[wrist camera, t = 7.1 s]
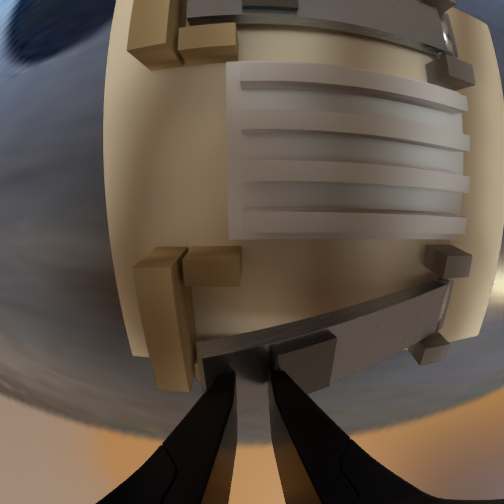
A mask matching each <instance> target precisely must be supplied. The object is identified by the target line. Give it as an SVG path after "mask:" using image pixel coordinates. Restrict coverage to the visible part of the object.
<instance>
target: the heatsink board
mask: <svg viewBox="0 0 504 504" xmlns="http://www.w3.org/2000/svg"><path fill="white" fill-rule="evenodd" d="M416 1H418V2H421V3H423V4H426V5H428V6H431V7H439V8H441V9H443V11H444V12H445V13H447V14H448V15H449V19H450V23H451V26H452V30H453V34H454V38H455V43H456V47H457V52H458V57H456V58H454V57H452V56H449V55H443V56H441V57H439V58H437V56H435V55H433V54H430V53H427V52H424V51H421V50H418V49H415V48H411V47H408V46H405V45H401V44H398V43H394V42H390V41H386V40H382V39H378V38H374V37H370V36H365V35H360V34H355V33H350V32H344V31H338V30H331V29H324V28H316V27H307V26H296V25H281V24H236V22H235V23H219V24H207V25H197V26H190V25H189V23H188V20H187V7H188V0H116V5H115V11H114V16H113V22H112V28H111V34H110V42H109V49H108V58H107V68H106V79H105V94H104V120H103V154H104V180H105V196H106V208H107V219H108V228H109V237H110V244H111V252H112V259H113V265H114V272H115V278H116V283H117V289H118V294H119V299H120V304H121V309H122V314H123V318H124V323H125V327H126V331H127V336H128V340H129V344H130V348H131V351H132V355H133V356H140V357H149V358H150V362H151V366H152V370H153V374H154V378H155V381H156V385H157V389H158V390H165V391H176V392H188V393H190V389H191V385H192V382H193V378H194V374H195V371H196V376H197V381H201V378H200V371H199V365H198V358H197V351H196V342H201V341H207V340H212V339H217V338H222V337H227V336H232V335H237V334H242V333H246V332H251V331H255V330H260V329H264V328H269V327H273V326H277V325H281V324H285V323H290V322H294V321H298V320H301V319H305V318H309V317H313V316H317V315H321V314H324V313H328V312H332V311H335V310H339V309H342V308H346V307H349V306H353V305H356V304H359V303H363V302H366V301H369V300H372V299H376V298H379V297H382V296H385V295H388V294H391V293H394V292H397V291H400V290H403V289H406V288H409V287H412V286H415V285H418V284H421V283H424V282H426V281H429V280H432V279H434V277H435V275H436V274H437V275H438V276H440V277H441V278H442V279H451V278H452V281H454V284H453V288H452V293H451V297H450V301H449V305H448V309H447V313H446V317H445V320H444V324H443V327H442V328H441V329H440V330H439V333H438V334H436V335H429V336H428V337H426V338H424V339H422V340H420V341H419V342H417V343H415V344H413V345H411V346H410V347H408V348H406V349H404V350H409V351H410V353H411V354H412V356H413V357H414V358H415V360H416V361H417V362H418V364H419V365H420V366H421V365H426V364H431V363H435V362H440V361H444V360H445V357H446V355H447V352H448V349H449V346H450V343H449V342H451V341H456V340H461V339H465V338H469V337H474V336H478V334H479V331H480V328H481V325H482V322H483V319H484V315H485V312H486V309H487V305H488V302H489V298H490V294H491V290H492V286H493V282H494V278H495V273H496V268H497V264H498V258H499V253H500V247H501V241H502V234H503V227H504V99H503V92H502V86H501V80H500V74H499V69H498V64H497V59H496V55H495V51H494V47H493V43H492V39H491V36H490V32H489V29H488V25H487V24H485V23H483V22H481V21H480V20H478V19H476V18H474V17H472V16H470V15H468V14H466V13H464V12H462V11H460V10H458V9H456V8H454V7H453V6H455V5H456V1H455V0H416Z"/></svg>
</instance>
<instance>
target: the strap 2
mask: <svg viewBox="0 0 504 504" xmlns="http://www.w3.org/2000/svg"><path fill="white" fill-rule="evenodd" d="M453 284H454V281H452V278H451V279H442V278H441V277H440V276H438V275H437V274H436V275H435V277H434V279H432V280H429V281H426V282H424V283H421V284H418V285H415V286H412V287H409V288H406V289H403V290H400V291H397V292H394V293H391V294H388V295H385V296H382V297H379V298H376V299H372V300H369V301H366V302H363V303H359V304H356V305H353V306H349V307H346V308H342V309H339V310H335V311H332V312H328V313H324V314H321V315H317V316H313V317H309V318H305V319H301V320H298V321H294V322H290V323H285V324H281V325H277V326H273V327H269V328H264V329H260V330H255V331H251V332H246V333H242V334H237V335H232V336H227V337H222V338H217V339H212V340H207V341H201V342H196V351H197V358H198V365H199V371H200V378H201V384H202V391H203V394H204V393H205V391H206V390H207V389H208V388H209V386H210V385H211V384H212V383H213V381H214V380H215V379H216V377H217V376H218V375H219V374H222V373H228V372H235V373H236V388H237V414H239V413H243V412H247V411H250V410H254V409H257V408H261V407H264V406H267V405H269V396H268V389H269V372H270V371H272V370H284V371H285V372H286V373H287V374H288V375H289V376H290V377H291V378H292V379H293V381H294V382H295V383H296V384H297V385H298V386H299V387H300V388H301V389H302V390H303V391H304V392H305V393H306V394H309V393H312V392H314V391H317V390H320V389H322V388H325V387H327V386H329V384H330V383H332V382H335V381H337V380H340V379H342V378H345V377H347V376H349V375H352V374H354V373H356V372H358V371H361V370H363V369H365V368H367V367H369V366H372V365H374V364H376V363H378V362H380V361H382V360H384V359H386V358H388V357H390V356H392V355H394V354H396V353H398V352H400V351H402V350H404V349H406V348H408V347H410V346H411V345H413V344H415V343H417V342H419V341H420V340H422V339H424V338H426V337H428V336H429V335H436V334H438V333H439V330H440V329H441V328H442V327H443V324H444V320H445V317H446V313H447V309H448V305H449V301H450V297H451V293H452V288H453Z"/></svg>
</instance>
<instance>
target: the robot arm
mask: <svg viewBox="0 0 504 504" xmlns="http://www.w3.org/2000/svg"><path fill="white" fill-rule="evenodd" d="M268 396H269V411H270V426H271V438H272V444H273V449H274V454H275V458H276V463H277V467H278V472H279V476H280V480H281V485H282V489H283V493H284V497H285V502H286V504H504V499H497V500H452V499H442V498H437V497H434V496H431V495H429V494H426V493H425V492H423V491H421V490H419V489H417V488H416V487H414V486H413V485H411V484H410V483H408V482H406V481H405V480H403V479H402V478H400V477H399V476H397V475H396V474H394V473H393V472H391V471H390V470H388V469H387V468H386V467H384V466H383V465H381V464H380V463H379V462H377V461H376V460H375V459H373V458H372V457H371V456H370V455H369V454H368V453H366V452H365V451H364V450H363V449H362V448H361V447H360V446H359V445H357V444H356V443H355V442H354V441H353V440H352V439H350V437H349V436H348V435H347V434H346V433H345V432H344V431H343V430H342V429H341V428H340V427H339V426H338V425H337V424H336V423H335V422H334V421H333V420H332V419H331V418H330V417H329V416H328V415H327V414H326V413H325V412H324V411H323V410H322V409H321V408H320V407H319V406H318V405H317V404H316V403H315V402H314V401H313V400H312V399H311V398H310V397H309V396H308V395H307V394H306V393H305V392H304V391H303V390H302V389H301V388H300V387H299V386H298V385H297V384H296V383H295V382H294V381H293V379H292V378H291V377H290V376H289V375H288V374H287V373H286V372H285V371H284V370H272V371H270V372H269V389H268ZM162 445H163V446H162ZM162 445H161V446H159V448H158V449H157V450H156V451H155V452H154V454H153V455H152V456H151V457H150V458H149V459H148V460H147V461H146V462H145V463H144V464H143V465H142V466H141V467H140V468H139V469H138V470H137V471H136V472H135V473H133V474H132V475H131V476H130V477H129V478H128V479H126V480H125V481H124V482H123V483H122V484H120V485H119V486H118V487H117V488H115V489H114V490H113V491H112V492H110V493H109V494H108V495H106V496H105V497H104V498H103V499H101V500H100V501H99V502H97V503H96V504H228V502H229V495H230V487H231V481H232V475H233V467H234V460H235V454H236V446H237V388H236V373H235V372H228V373H222V374H219V375H218V376H217V377H216V379H215V380H214V381H213V383H212V384H211V385H210V386H209V388H208V389H207V390H206V391H205V393H204V394H203V395H202V396H201V398H200V399H199V400H198V401H197V402H196V404H195V405H194V406H193V407H192V409H191V410H190V411H189V412H188V414H187V415H186V416H185V417H184V418H183V420H182V421H181V422H180V423H179V424H178V426H177V427H176V428H175V429H174V430H173V431H172V433H171V434H170V435H169V436H168V437H167V439H166V440H165V441H164V442H163V443H162Z"/></svg>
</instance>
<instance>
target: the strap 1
mask: <svg viewBox="0 0 504 504" xmlns="http://www.w3.org/2000/svg"><path fill="white" fill-rule="evenodd" d="M187 20H188V23H189V25H190V26H197V25H207V24H219V23H235V22H236V24H281V25H296V26H307V27H316V28H324V29H331V30H338V31H344V32H350V33H355V34H360V35H365V36H370V37H374V38H378V39H382V40H386V41H390V42H394V43H398V44H401V45H405V46H408V47H411V48H415V49H418V50H421V51H424V52H427V53H430V54H433V55H435V56H437V58H439V57H441V56H443V55H449V56H452V57H454V58H456V57H458V52H457V47H456V43H455V38H454V34H453V30H452V26H451V23H450V19H449V15H448V14H447V13H445V12H444V11H443V9H441V8H439V7H431V6H428V5H426V4H423V3H421V2H418V1H416V0H188V7H187Z"/></svg>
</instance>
